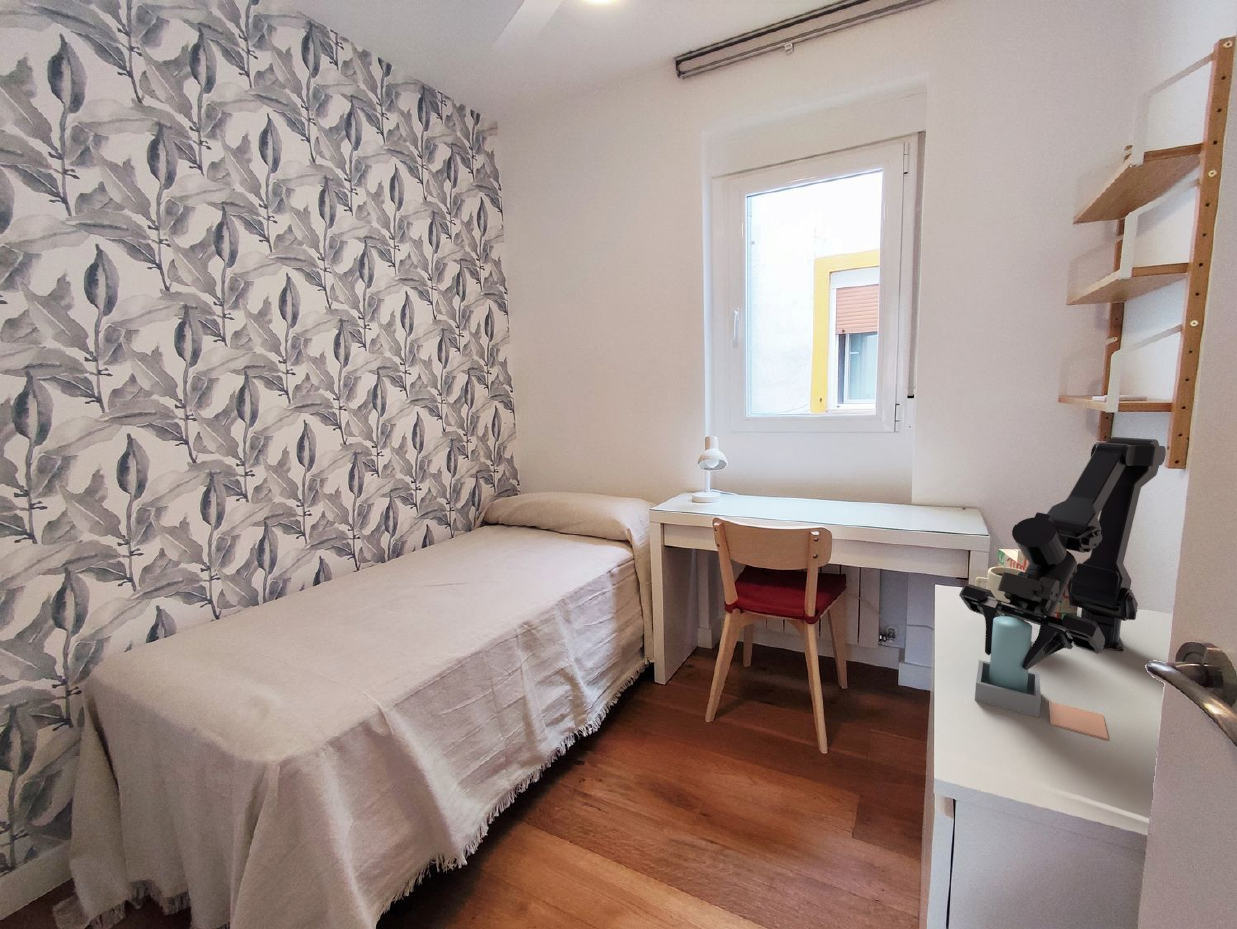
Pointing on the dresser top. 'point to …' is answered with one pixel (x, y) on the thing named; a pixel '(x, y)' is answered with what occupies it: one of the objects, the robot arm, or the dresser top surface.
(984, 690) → the slate tray
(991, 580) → the character mug
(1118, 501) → the robot arm
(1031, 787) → the dresser top surface
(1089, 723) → the terracotta coaster
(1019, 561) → the stack of blocks
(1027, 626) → the teal post
